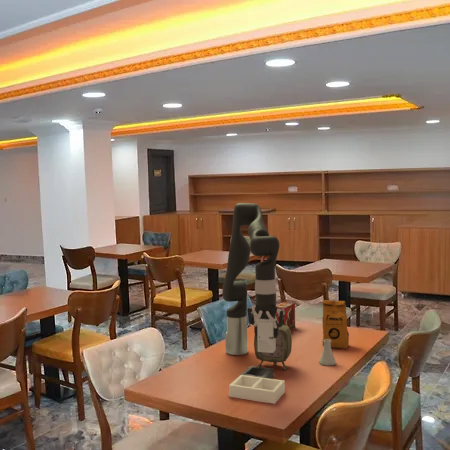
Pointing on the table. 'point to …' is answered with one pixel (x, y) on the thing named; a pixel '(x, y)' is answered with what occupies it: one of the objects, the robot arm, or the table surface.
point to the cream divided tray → (257, 389)
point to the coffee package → (335, 323)
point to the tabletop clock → (281, 348)
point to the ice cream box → (287, 314)
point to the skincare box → (265, 336)
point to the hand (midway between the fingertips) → (266, 336)
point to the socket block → (259, 372)
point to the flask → (327, 354)
